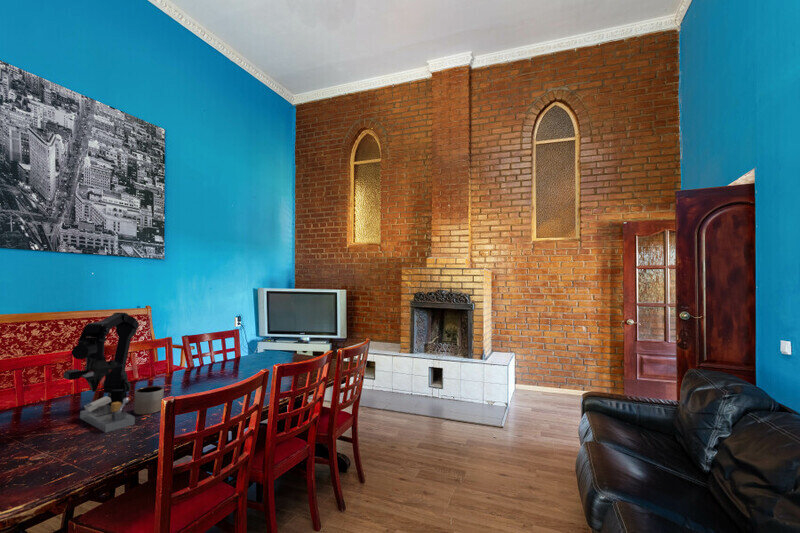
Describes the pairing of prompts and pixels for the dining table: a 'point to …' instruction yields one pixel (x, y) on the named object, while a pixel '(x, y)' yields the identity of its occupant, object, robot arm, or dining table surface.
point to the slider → (115, 406)
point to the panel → (107, 418)
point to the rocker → (97, 403)
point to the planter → (148, 400)
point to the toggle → (122, 405)
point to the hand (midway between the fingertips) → (93, 391)
